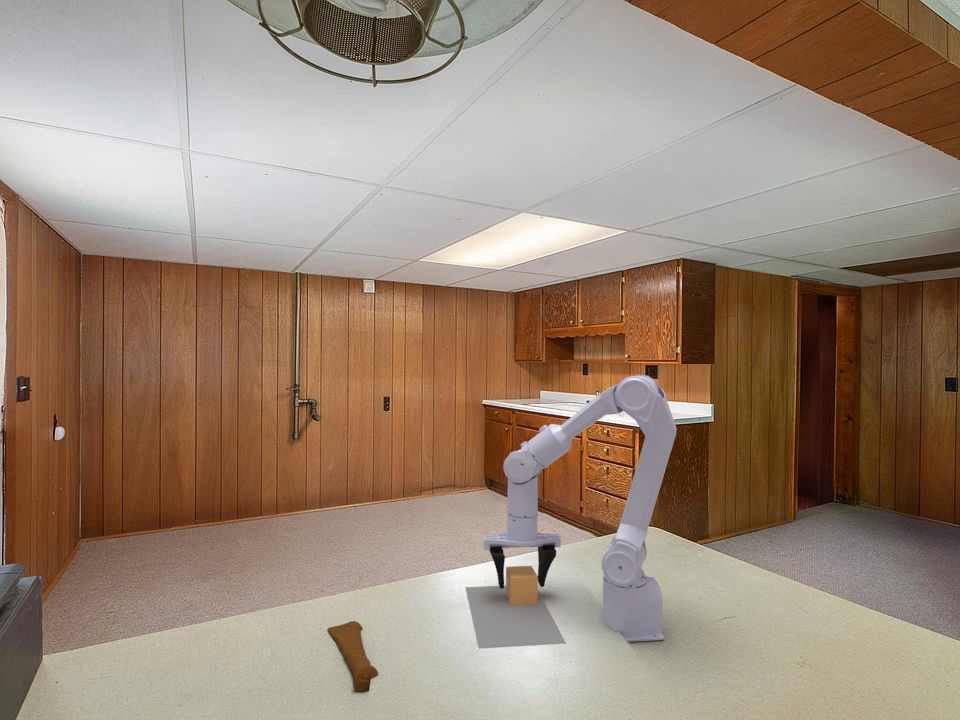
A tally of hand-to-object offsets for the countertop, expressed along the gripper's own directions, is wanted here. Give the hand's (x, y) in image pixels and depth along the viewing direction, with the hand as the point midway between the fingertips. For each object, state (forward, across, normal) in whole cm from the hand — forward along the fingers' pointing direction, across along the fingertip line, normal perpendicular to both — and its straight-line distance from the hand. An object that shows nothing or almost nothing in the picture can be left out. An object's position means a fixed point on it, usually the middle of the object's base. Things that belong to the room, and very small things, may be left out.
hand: (521, 585), depth 95 cm
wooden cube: (+2, 0, 0) cm, 2 cm away
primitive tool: (+5, +30, +12) cm, 33 cm away
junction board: (+4, +3, +5) cm, 7 cm away
